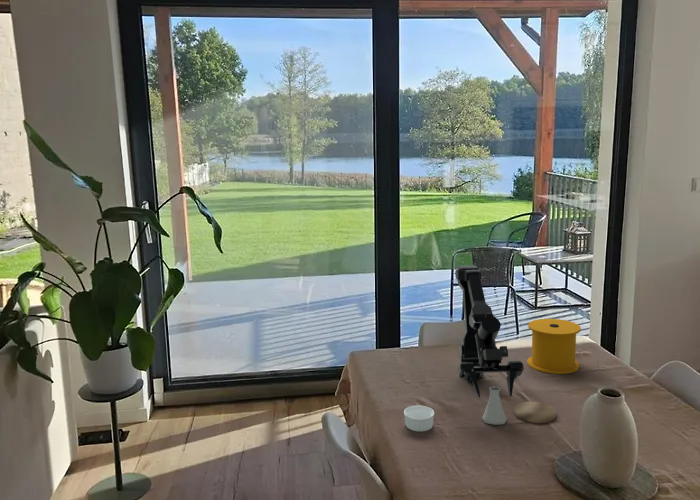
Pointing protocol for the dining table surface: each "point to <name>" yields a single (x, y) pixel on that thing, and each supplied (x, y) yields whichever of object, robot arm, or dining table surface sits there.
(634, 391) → the dining table surface
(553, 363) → the spool
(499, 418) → the flask
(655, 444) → the dining table surface
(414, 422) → the ramekin
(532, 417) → the brass disc
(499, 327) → the robot arm
